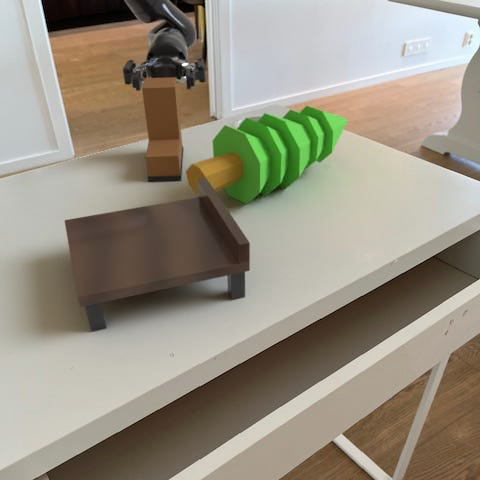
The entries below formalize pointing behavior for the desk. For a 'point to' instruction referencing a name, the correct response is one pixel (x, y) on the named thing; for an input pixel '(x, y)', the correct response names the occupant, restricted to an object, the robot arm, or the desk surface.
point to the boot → (163, 129)
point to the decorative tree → (267, 152)
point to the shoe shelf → (155, 250)
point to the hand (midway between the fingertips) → (163, 83)
